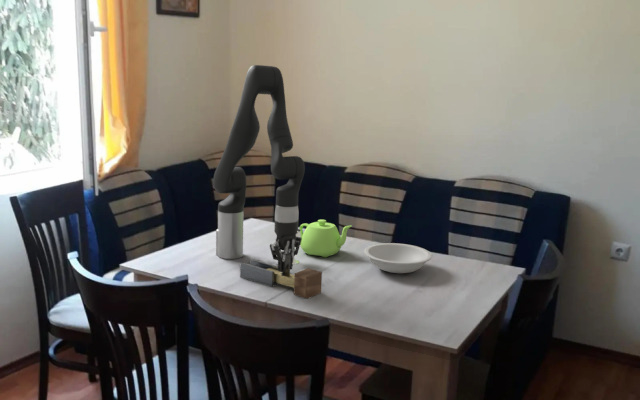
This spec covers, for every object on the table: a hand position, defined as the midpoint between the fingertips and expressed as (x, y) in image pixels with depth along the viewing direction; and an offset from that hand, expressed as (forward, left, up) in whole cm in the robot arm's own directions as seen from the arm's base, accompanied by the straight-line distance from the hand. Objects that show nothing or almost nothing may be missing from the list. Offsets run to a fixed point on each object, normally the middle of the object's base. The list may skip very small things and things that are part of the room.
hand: (285, 270), depth 207 cm
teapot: (-12, +38, -6) cm, 40 cm away
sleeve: (-10, 0, -6) cm, 11 cm away
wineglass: (-14, +22, -6) cm, 27 cm away
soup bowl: (+19, +40, -6) cm, 45 cm away
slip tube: (0, 0, -4) cm, 4 cm away
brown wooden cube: (+9, 0, -6) cm, 11 cm away
